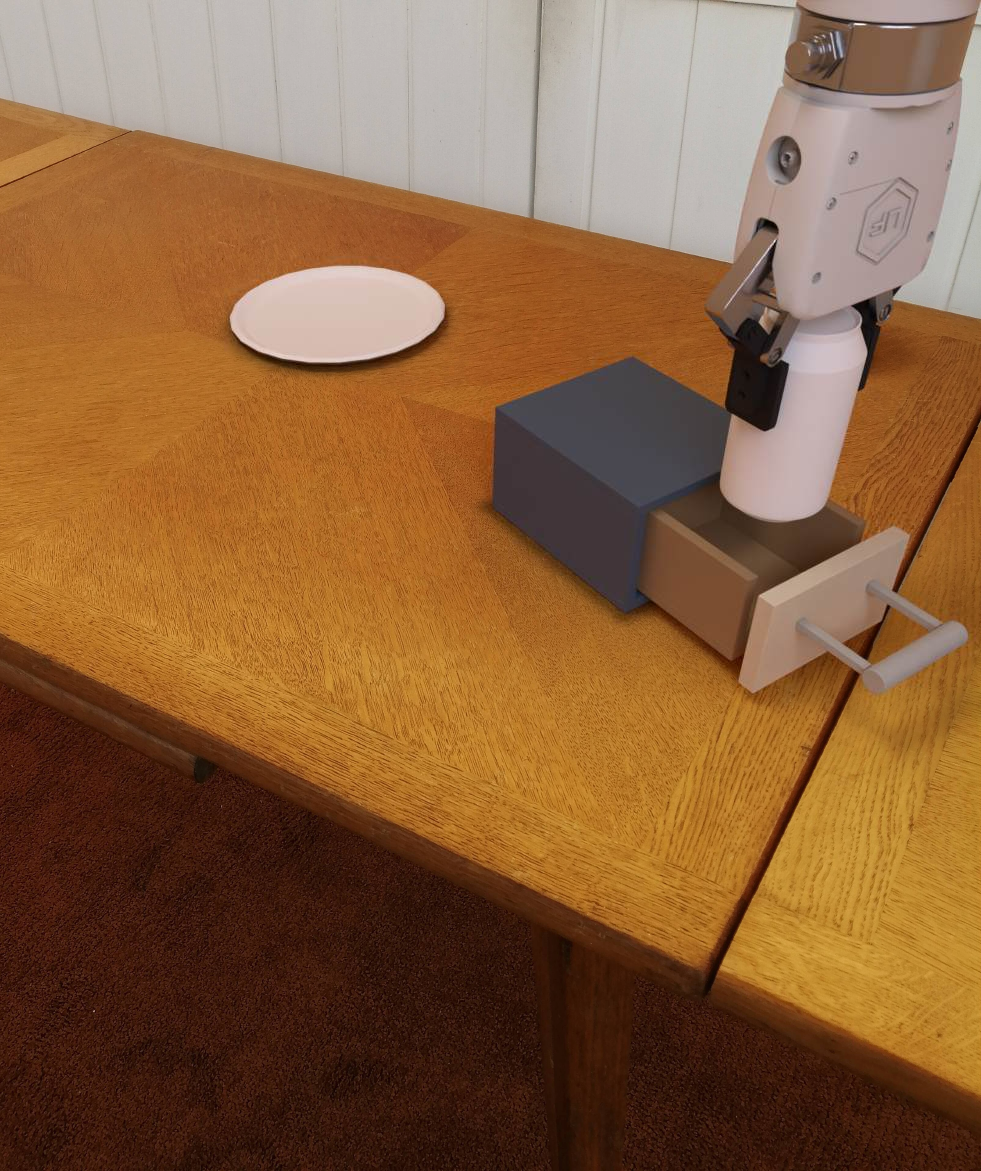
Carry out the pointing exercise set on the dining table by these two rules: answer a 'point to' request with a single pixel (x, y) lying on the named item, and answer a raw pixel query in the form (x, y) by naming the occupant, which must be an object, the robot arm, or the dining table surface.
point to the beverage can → (799, 423)
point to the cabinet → (604, 466)
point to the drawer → (783, 587)
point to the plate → (337, 315)
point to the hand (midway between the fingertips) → (794, 397)
